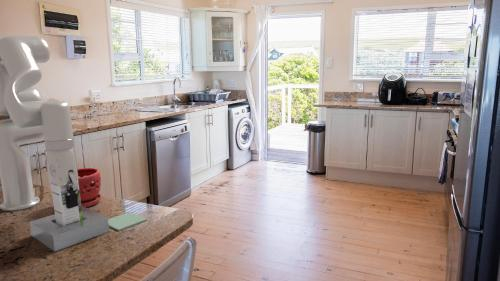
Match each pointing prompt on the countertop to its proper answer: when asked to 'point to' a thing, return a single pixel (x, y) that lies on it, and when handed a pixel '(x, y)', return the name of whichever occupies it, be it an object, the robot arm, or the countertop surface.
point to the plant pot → (89, 186)
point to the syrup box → (61, 212)
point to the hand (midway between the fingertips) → (67, 204)
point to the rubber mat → (125, 221)
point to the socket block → (69, 230)
